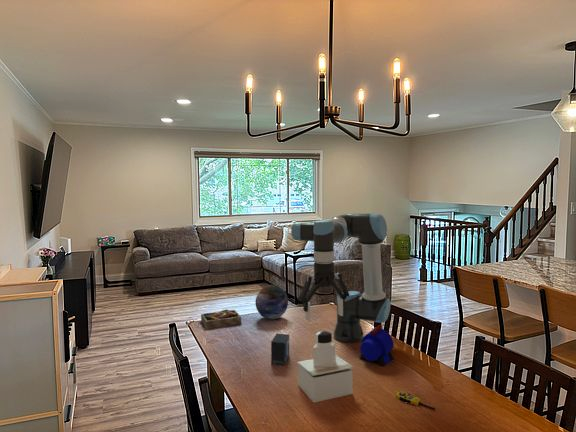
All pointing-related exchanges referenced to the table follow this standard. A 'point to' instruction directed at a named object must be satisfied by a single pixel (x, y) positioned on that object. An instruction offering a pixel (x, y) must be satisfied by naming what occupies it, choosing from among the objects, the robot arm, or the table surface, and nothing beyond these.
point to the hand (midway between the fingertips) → (324, 317)
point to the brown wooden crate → (221, 315)
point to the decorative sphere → (271, 302)
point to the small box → (280, 349)
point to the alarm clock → (377, 346)
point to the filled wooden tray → (220, 321)
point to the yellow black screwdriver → (410, 399)
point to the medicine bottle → (324, 350)
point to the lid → (316, 370)
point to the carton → (325, 384)
